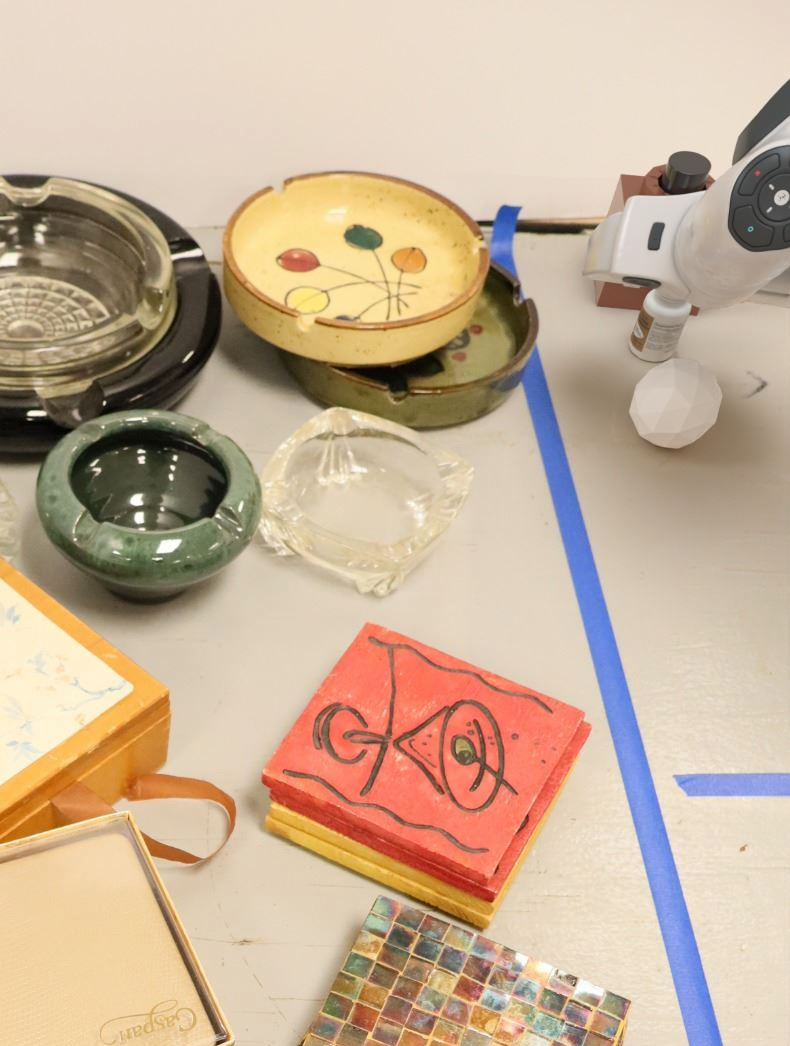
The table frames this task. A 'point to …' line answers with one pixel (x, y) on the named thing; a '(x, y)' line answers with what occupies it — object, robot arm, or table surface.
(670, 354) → the pill bottle
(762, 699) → the table surface
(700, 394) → the geometric ball
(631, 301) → the dispenser
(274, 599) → the table surface
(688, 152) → the cylinder
